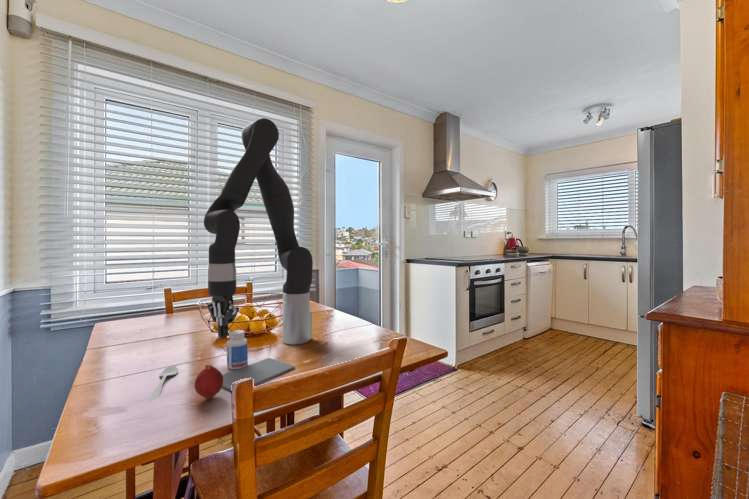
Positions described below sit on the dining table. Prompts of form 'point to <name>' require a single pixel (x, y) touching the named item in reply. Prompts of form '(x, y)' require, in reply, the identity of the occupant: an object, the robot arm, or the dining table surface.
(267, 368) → the mat
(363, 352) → the dining table surface
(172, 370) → the spoon
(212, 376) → the onion
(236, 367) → the pill bottle
